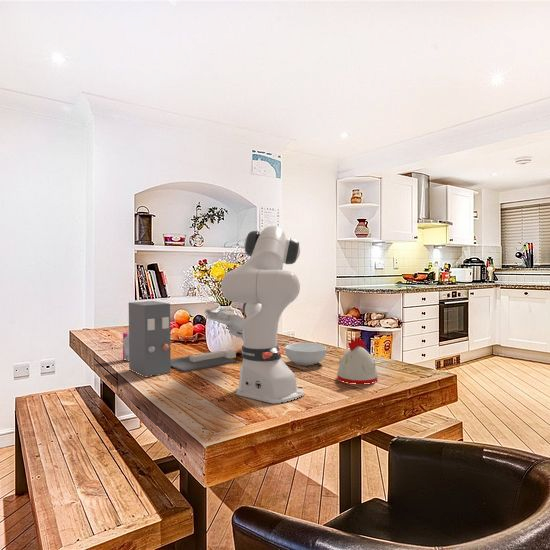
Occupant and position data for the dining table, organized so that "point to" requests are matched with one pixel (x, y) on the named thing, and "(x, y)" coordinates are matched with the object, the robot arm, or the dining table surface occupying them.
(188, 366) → the rubber mat
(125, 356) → the supplement box
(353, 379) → the beanie hat
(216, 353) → the paddle lever
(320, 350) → the cereal bowl
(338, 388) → the dining table surface
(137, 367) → the switch panel
